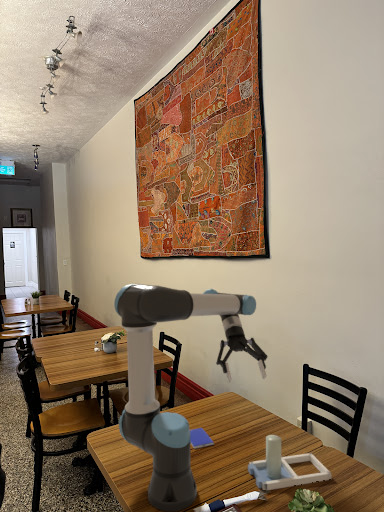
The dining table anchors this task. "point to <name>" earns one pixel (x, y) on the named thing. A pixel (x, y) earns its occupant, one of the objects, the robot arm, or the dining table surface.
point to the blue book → (200, 438)
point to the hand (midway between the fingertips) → (247, 379)
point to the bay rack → (287, 472)
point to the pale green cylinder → (273, 456)
